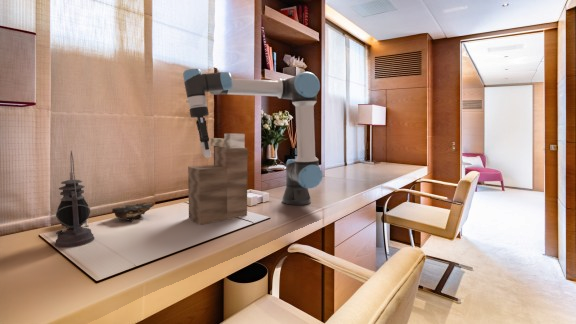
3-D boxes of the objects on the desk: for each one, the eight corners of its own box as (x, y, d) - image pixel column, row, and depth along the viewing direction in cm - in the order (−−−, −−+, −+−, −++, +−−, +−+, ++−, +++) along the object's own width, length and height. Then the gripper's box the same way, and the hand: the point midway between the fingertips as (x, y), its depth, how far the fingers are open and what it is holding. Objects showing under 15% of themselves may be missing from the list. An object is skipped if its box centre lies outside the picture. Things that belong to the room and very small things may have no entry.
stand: (188, 218, 126) (187, 147, 123) (234, 210, 140) (234, 146, 137) (200, 224, 118) (199, 149, 115) (247, 215, 132) (247, 147, 129)
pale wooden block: (207, 145, 139) (207, 132, 139) (220, 145, 144) (220, 133, 143) (230, 148, 124) (230, 133, 123) (244, 147, 128) (244, 134, 128)
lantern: (53, 239, 99) (47, 149, 96) (90, 232, 106) (86, 149, 103) (56, 251, 90) (50, 152, 87) (97, 243, 97) (93, 151, 94)
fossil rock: (136, 224, 116) (136, 210, 115) (106, 222, 119) (106, 207, 118) (159, 215, 129) (159, 202, 129) (131, 213, 132) (131, 200, 132)
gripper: (188, 111, 136) (197, 156, 139) (189, 105, 113) (199, 160, 115) (205, 109, 139) (213, 153, 141) (209, 102, 115) (219, 156, 118)
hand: (207, 156), depth 128 cm, fingers open, 13 cm apart
